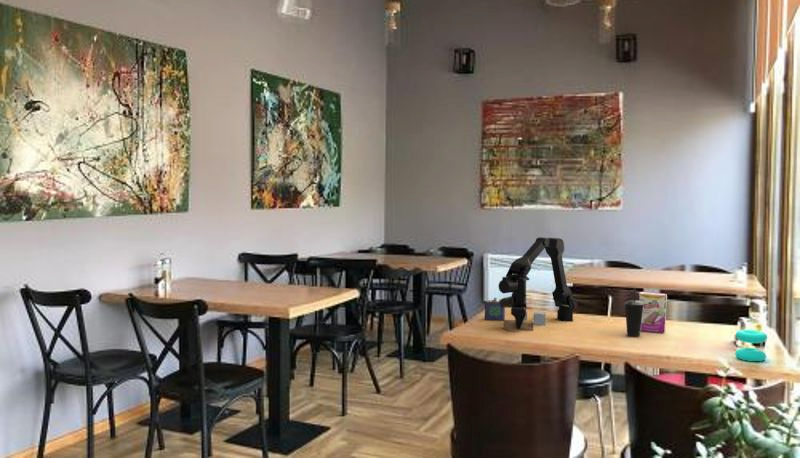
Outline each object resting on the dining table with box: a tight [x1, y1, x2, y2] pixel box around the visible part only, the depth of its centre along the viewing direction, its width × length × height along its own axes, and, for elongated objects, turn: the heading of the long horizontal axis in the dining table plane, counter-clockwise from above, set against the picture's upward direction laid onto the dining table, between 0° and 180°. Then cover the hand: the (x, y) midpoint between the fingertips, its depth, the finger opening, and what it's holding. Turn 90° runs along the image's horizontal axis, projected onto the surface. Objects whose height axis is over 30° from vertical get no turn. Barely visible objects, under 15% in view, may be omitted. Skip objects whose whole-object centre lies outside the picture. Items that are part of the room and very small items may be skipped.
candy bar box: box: [638, 291, 668, 334], centre depth 293 cm, size 11×5×16 cm, turn 65°
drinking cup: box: [624, 287, 644, 338], centre depth 284 cm, size 8×8×20 cm
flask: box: [484, 297, 506, 322], centre depth 313 cm, size 9×3×11 cm, turn 87°
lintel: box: [503, 319, 534, 332], centre depth 294 cm, size 12×5×4 cm, turn 87°
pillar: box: [533, 311, 546, 327], centre depth 305 cm, size 5×5×5 cm
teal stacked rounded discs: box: [734, 329, 768, 362], centre depth 247 cm, size 10×10×10 cm
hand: (518, 327), depth 294 cm, fingers open, 8 cm apart
